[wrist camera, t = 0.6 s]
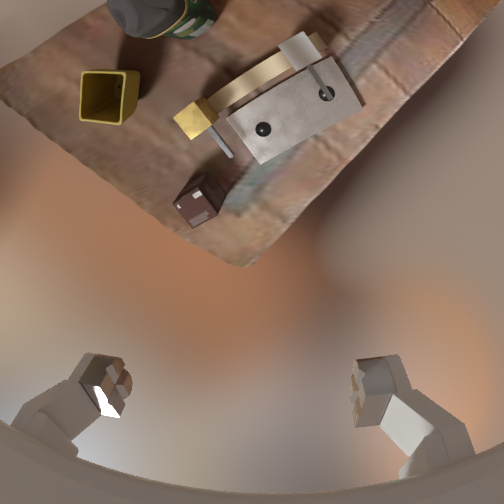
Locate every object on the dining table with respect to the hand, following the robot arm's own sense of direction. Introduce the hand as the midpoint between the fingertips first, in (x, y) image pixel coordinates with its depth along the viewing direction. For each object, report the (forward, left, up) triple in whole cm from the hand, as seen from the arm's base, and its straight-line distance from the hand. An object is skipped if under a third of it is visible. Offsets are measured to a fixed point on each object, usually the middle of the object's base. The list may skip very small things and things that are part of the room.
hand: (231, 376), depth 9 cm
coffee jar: (+2, -23, -45) cm, 50 cm away
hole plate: (-2, +1, -44) cm, 44 cm away
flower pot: (+19, -20, -45) cm, 53 cm away
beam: (0, -4, -44) cm, 45 cm away
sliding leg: (+10, -4, -41) cm, 43 cm away
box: (+20, +5, -45) cm, 49 cm away
